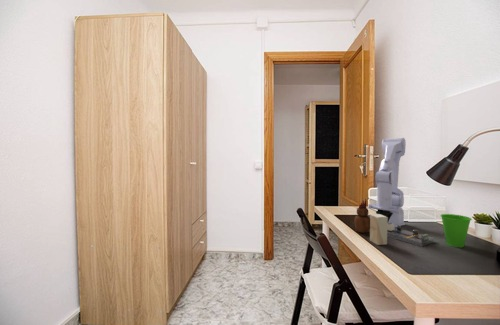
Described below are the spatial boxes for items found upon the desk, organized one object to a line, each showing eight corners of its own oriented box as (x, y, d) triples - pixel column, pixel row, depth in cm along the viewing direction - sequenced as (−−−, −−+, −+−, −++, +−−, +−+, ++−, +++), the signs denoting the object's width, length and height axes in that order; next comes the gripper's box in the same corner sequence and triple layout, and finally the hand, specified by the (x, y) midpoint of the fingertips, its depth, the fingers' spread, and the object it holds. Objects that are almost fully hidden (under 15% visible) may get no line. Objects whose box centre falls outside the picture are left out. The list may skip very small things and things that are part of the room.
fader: (389, 228, 105) (390, 222, 105) (394, 229, 103) (394, 223, 103) (386, 229, 104) (386, 223, 104) (390, 230, 102) (390, 224, 102)
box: (369, 240, 96) (369, 213, 95) (379, 240, 96) (379, 213, 96) (377, 245, 91) (377, 217, 90) (388, 244, 91) (388, 216, 91)
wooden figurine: (367, 229, 109) (367, 198, 109) (372, 233, 104) (372, 200, 103) (352, 229, 110) (352, 198, 110) (357, 233, 104) (357, 200, 104)
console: (387, 229, 110) (387, 221, 110) (434, 241, 93) (434, 233, 93) (374, 232, 105) (374, 224, 105) (421, 246, 89) (421, 237, 89)
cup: (470, 244, 90) (471, 216, 90) (471, 251, 84) (471, 221, 83) (441, 239, 96) (441, 212, 96) (439, 245, 90) (439, 217, 89)
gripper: (364, 195, 110) (364, 224, 110) (395, 200, 97) (395, 232, 98) (373, 194, 113) (373, 221, 114) (405, 199, 101) (404, 230, 101)
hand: (384, 226), depth 106 cm, fingers closed
